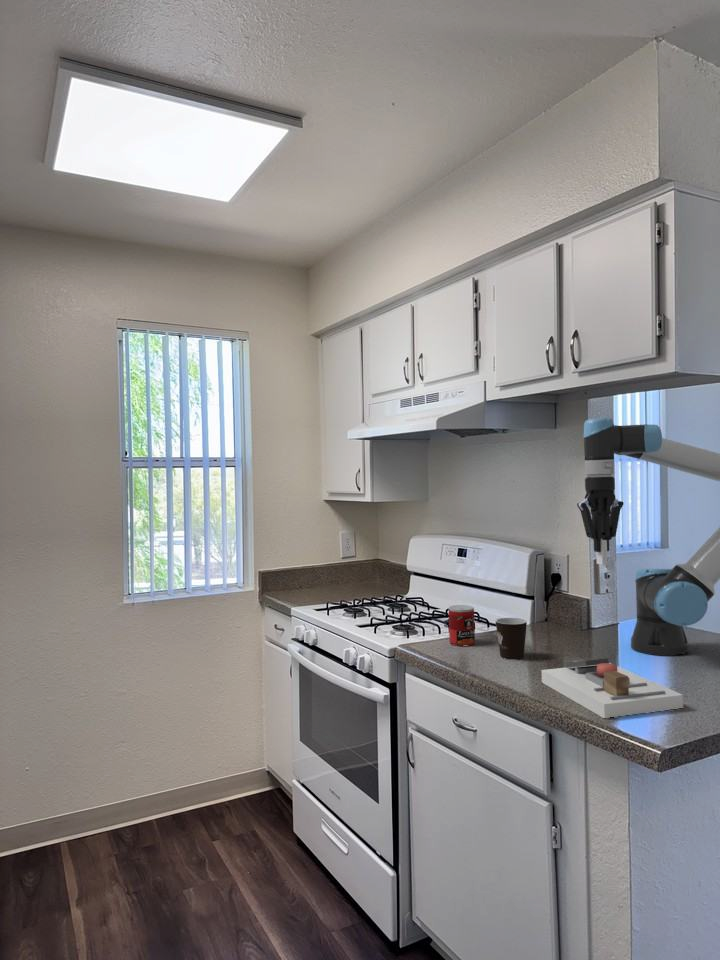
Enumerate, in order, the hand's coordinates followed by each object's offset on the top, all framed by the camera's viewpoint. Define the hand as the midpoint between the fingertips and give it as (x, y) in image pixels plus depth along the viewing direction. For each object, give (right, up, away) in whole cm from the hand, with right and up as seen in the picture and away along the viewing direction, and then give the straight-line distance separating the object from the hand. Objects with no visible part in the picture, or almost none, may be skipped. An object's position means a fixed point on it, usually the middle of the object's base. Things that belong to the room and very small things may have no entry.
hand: (601, 563), depth 181 cm
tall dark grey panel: (-10, -22, -19) cm, 31 cm away
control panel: (-8, -27, -27) cm, 39 cm away
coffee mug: (-22, -27, +9) cm, 36 cm away
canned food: (-34, -27, +24) cm, 50 cm away
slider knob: (-10, -24, -35) cm, 43 cm away
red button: (-8, -22, -27) cm, 36 cm away
